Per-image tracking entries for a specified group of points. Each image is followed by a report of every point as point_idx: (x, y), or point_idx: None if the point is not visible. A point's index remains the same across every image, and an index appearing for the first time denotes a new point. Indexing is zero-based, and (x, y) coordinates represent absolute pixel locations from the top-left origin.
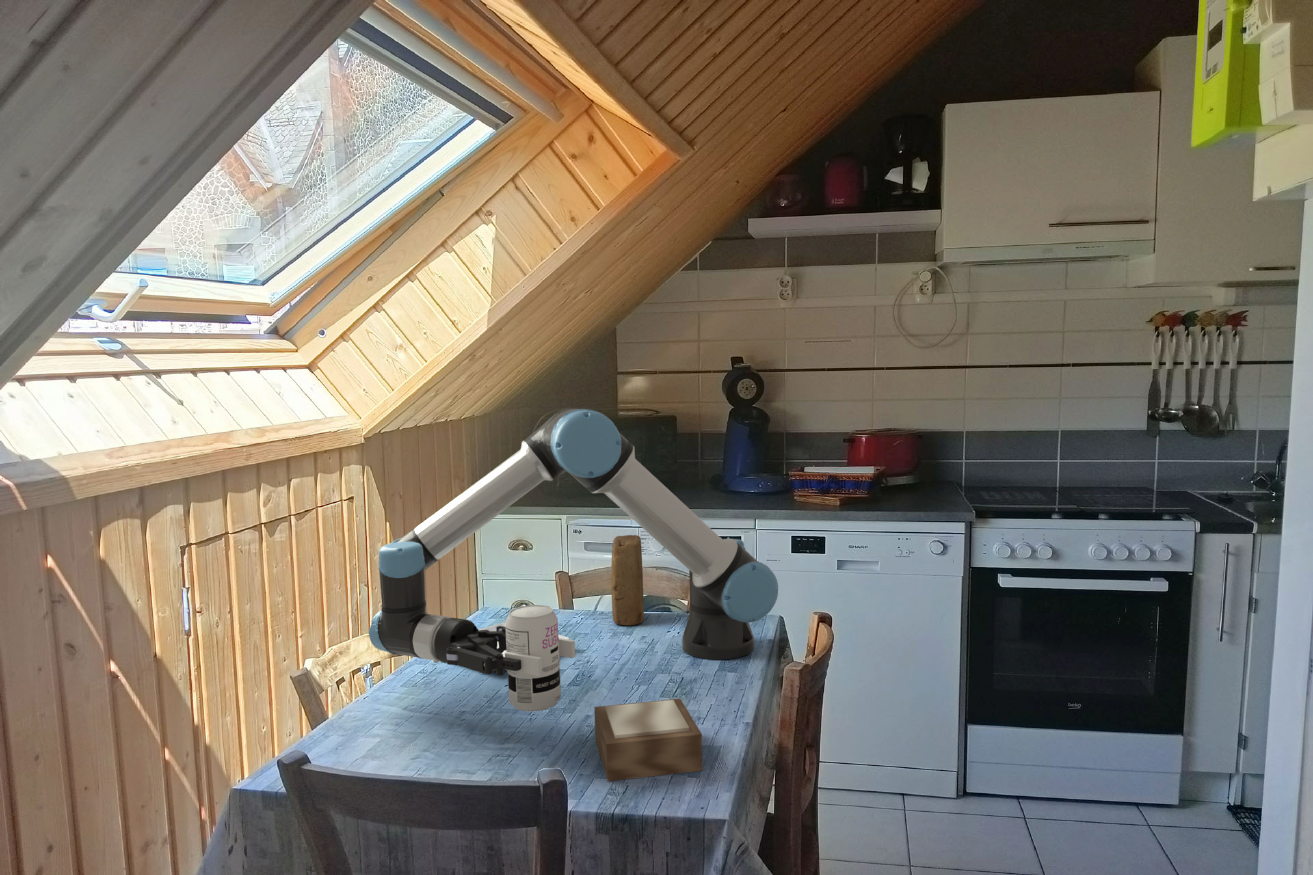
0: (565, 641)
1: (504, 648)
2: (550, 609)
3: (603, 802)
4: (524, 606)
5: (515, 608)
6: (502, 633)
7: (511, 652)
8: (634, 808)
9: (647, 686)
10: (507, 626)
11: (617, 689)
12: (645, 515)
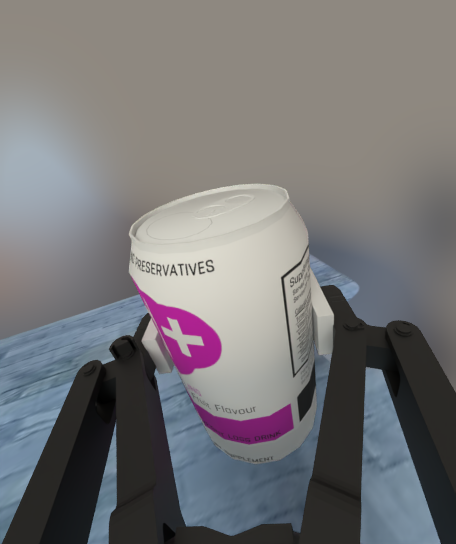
0: None
1: (176, 507)
2: (167, 209)
3: (337, 285)
4: (149, 244)
5: (188, 242)
6: (140, 496)
7: (314, 306)
8: (324, 270)
9: (29, 416)
10: (302, 249)
11: (31, 455)
12: None
